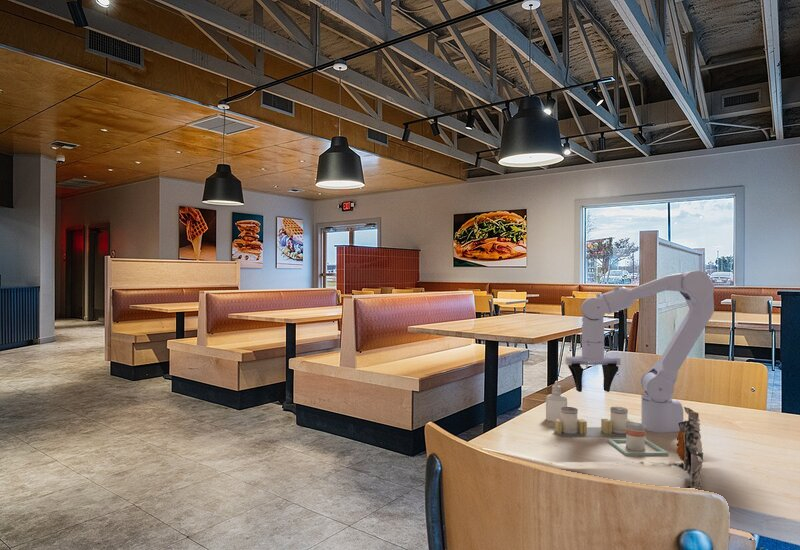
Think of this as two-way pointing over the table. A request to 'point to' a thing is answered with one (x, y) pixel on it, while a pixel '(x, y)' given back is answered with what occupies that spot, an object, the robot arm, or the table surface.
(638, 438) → the cylinder
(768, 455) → the table surface
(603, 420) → the fuse holder
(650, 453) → the tray
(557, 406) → the eye dropper bottle
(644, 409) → the robot arm
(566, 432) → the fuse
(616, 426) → the fuse
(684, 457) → the meal
